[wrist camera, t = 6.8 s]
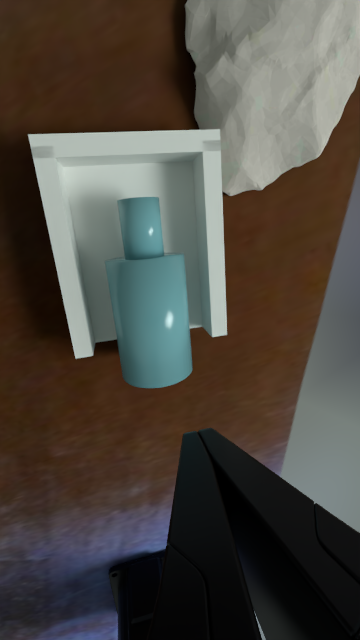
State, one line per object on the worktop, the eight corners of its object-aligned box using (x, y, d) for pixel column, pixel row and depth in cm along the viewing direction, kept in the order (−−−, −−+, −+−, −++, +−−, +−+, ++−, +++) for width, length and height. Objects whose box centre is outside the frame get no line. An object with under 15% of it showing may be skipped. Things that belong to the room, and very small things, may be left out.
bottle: (200, 379, 17) (188, 191, 14) (123, 394, 16) (92, 197, 13) (183, 350, 21) (171, 200, 18) (121, 360, 20) (97, 205, 17)
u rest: (212, 321, 21) (227, 334, 19) (81, 340, 20) (75, 358, 17) (203, 145, 18) (220, 129, 15) (43, 151, 16) (28, 134, 14)
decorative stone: (202, -137, 15) (162, 185, 20) (215, -246, 11) (162, 181, 16) (397, -78, 16) (310, 211, 21) (465, -160, 12) (340, 213, 18)
